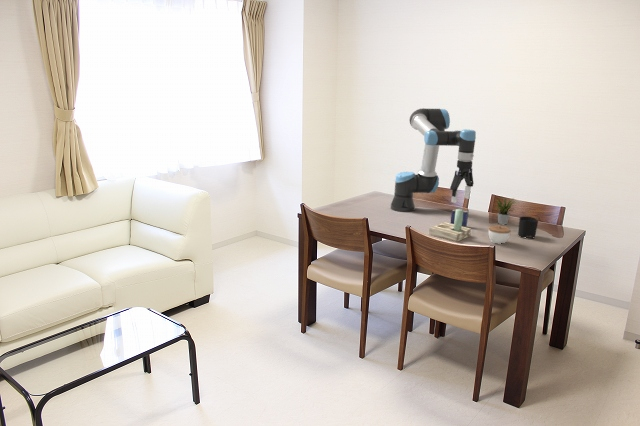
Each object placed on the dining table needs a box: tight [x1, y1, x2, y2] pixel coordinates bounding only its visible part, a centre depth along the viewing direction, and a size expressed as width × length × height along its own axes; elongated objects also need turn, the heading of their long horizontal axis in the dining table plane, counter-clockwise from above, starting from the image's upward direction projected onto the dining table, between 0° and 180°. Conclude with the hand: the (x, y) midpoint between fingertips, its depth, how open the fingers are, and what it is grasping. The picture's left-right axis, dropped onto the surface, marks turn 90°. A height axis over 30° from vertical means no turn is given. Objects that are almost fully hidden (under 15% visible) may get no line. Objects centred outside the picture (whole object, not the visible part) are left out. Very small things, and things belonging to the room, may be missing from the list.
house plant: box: [495, 196, 521, 225], centre depth 300 cm, size 14×14×16 cm
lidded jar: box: [488, 224, 512, 245], centre depth 266 cm, size 11×11×9 cm
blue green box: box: [450, 207, 469, 228], centre depth 293 cm, size 9×3×11 cm, turn 74°
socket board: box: [428, 221, 472, 243], centre depth 276 cm, size 16×16×4 cm
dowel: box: [453, 208, 465, 232], centre depth 271 cm, size 4×4×14 cm
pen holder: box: [517, 216, 539, 239], centre depth 277 cm, size 9×9×10 cm
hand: (460, 200), depth 268 cm, fingers open, 13 cm apart
